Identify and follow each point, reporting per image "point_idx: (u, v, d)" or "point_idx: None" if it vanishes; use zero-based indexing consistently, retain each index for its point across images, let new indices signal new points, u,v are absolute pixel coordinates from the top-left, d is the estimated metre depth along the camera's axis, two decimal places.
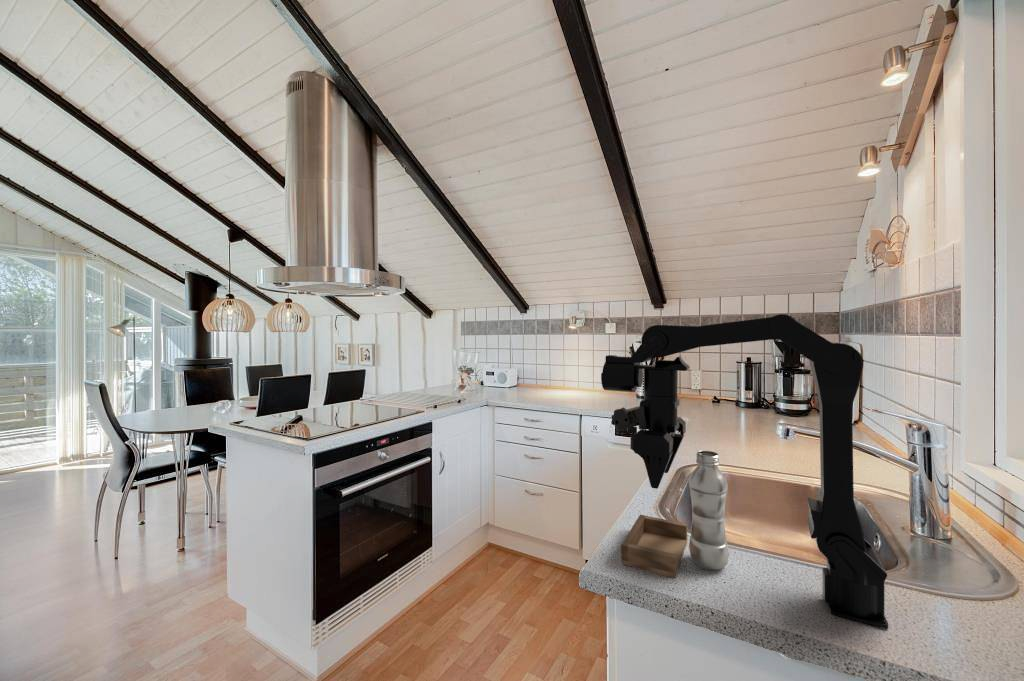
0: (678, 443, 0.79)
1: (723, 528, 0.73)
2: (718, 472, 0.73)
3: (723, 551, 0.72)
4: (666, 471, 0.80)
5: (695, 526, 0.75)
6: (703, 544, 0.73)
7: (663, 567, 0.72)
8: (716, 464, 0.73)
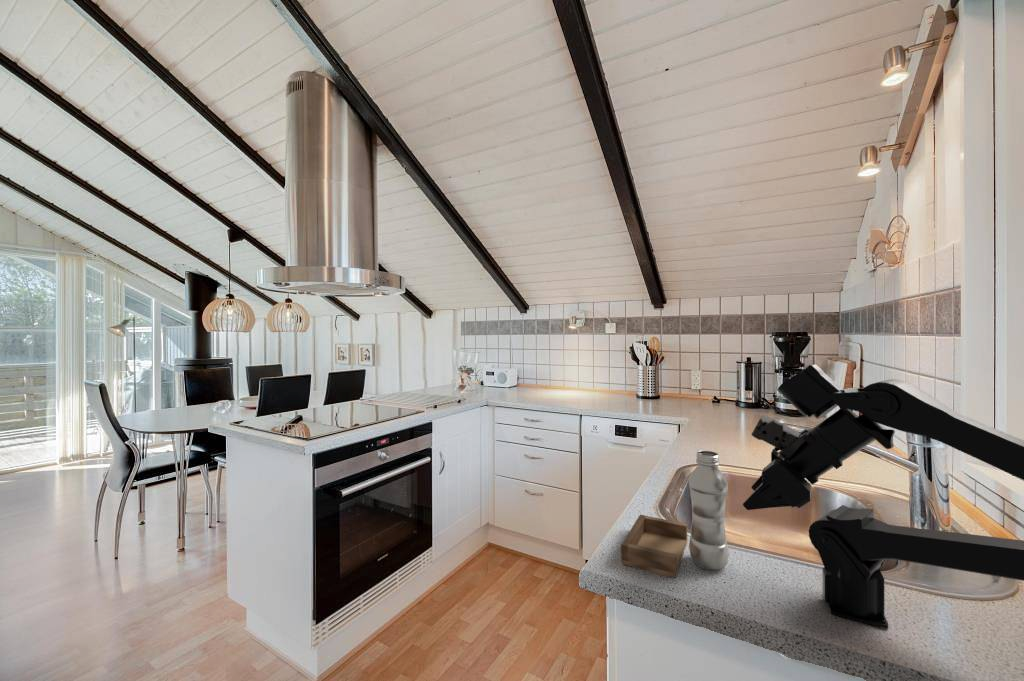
0: None
1: (723, 528, 0.73)
2: (718, 472, 0.73)
3: (723, 551, 0.72)
4: None
5: (695, 526, 0.75)
6: (703, 543, 0.73)
7: (663, 567, 0.72)
8: (716, 464, 0.73)
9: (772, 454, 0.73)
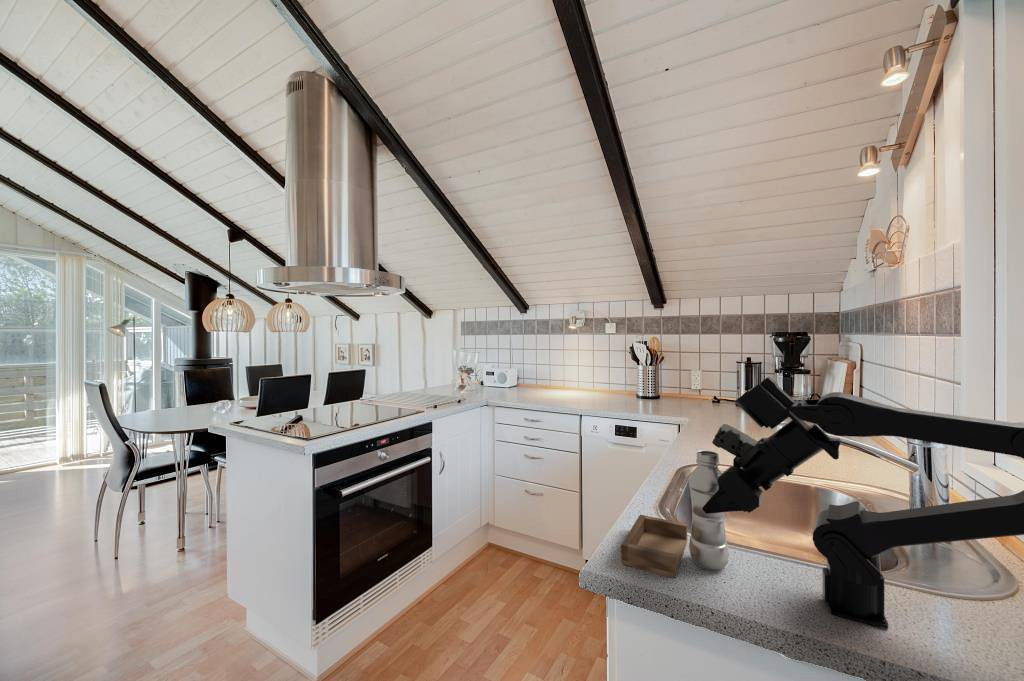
0: None
1: (723, 528, 0.73)
2: (718, 472, 0.73)
3: (723, 551, 0.72)
4: None
5: (695, 526, 0.75)
6: (703, 544, 0.73)
7: (663, 567, 0.72)
8: (716, 464, 0.73)
9: (734, 461, 0.77)
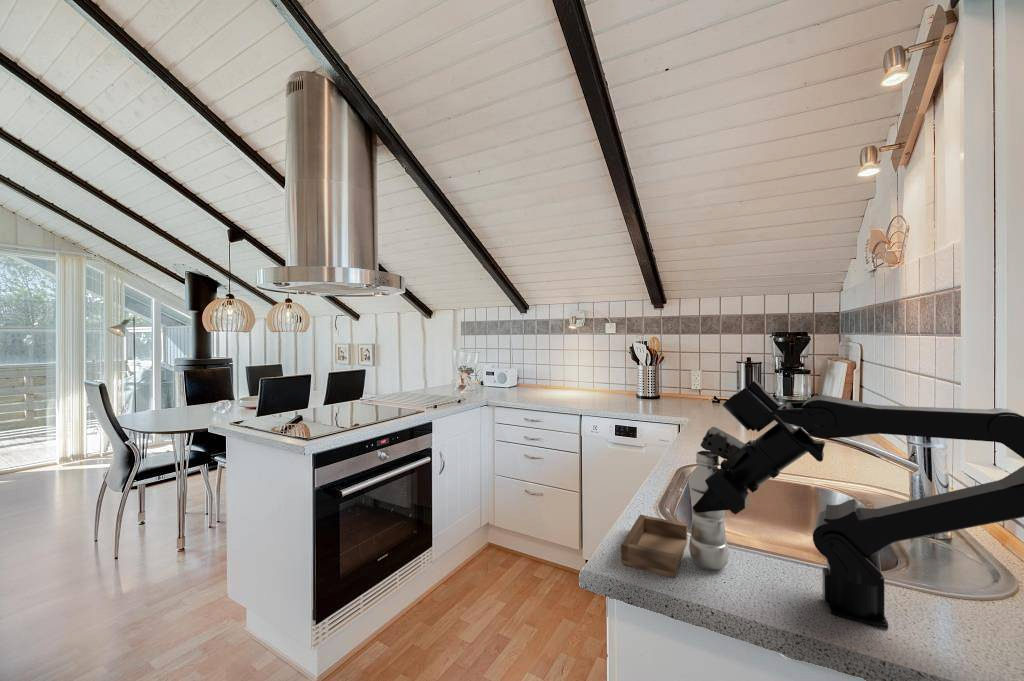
0: None
1: (723, 528, 0.73)
2: None
3: (723, 551, 0.72)
4: None
5: (695, 526, 0.75)
6: (703, 544, 0.73)
7: (663, 567, 0.72)
8: (716, 464, 0.73)
9: (721, 465, 0.77)
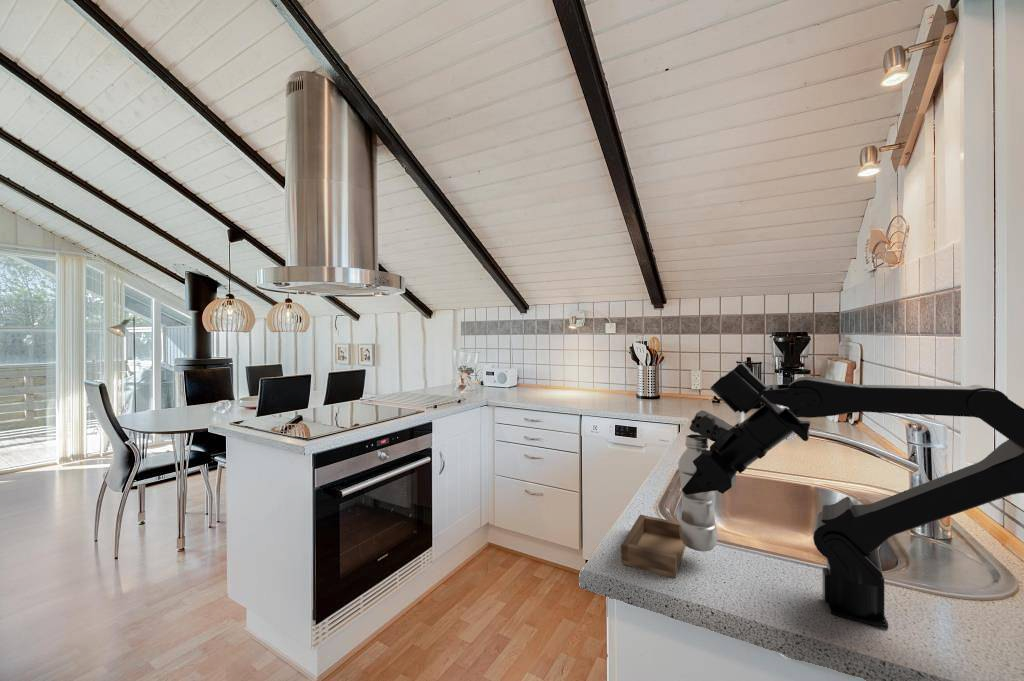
0: None
1: (712, 510, 0.74)
2: None
3: (712, 532, 0.73)
4: None
5: (684, 509, 0.75)
6: (692, 525, 0.74)
7: (663, 567, 0.72)
8: (705, 447, 0.74)
9: (710, 448, 0.78)
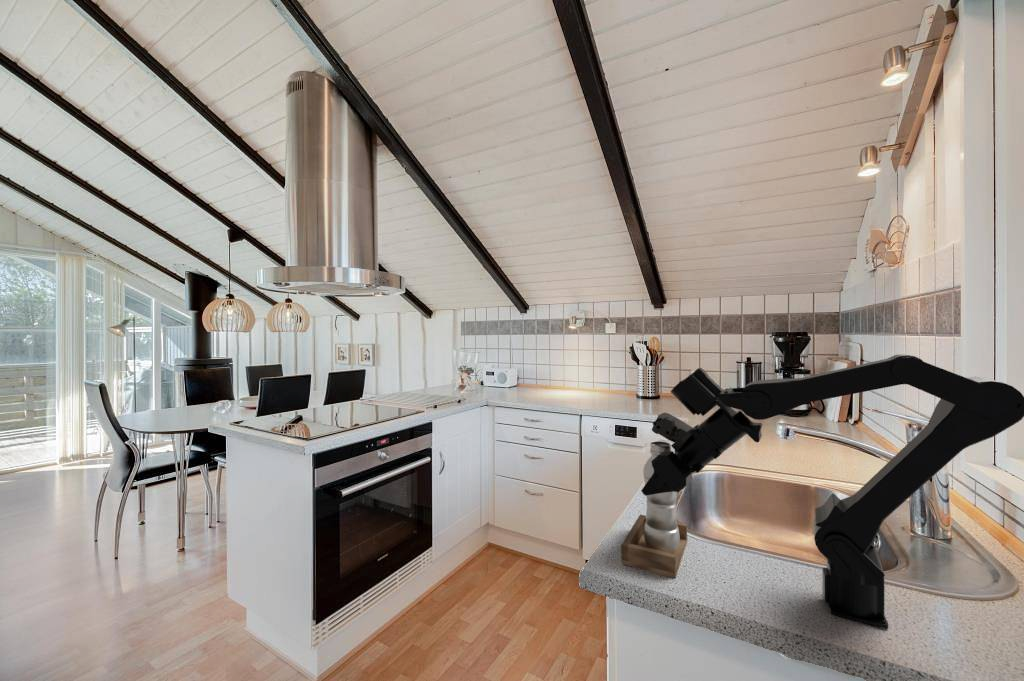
0: (691, 471, 0.80)
1: (674, 514, 0.77)
2: None
3: (674, 536, 0.76)
4: None
5: (648, 513, 0.79)
6: (655, 529, 0.77)
7: (663, 567, 0.72)
8: None
9: None
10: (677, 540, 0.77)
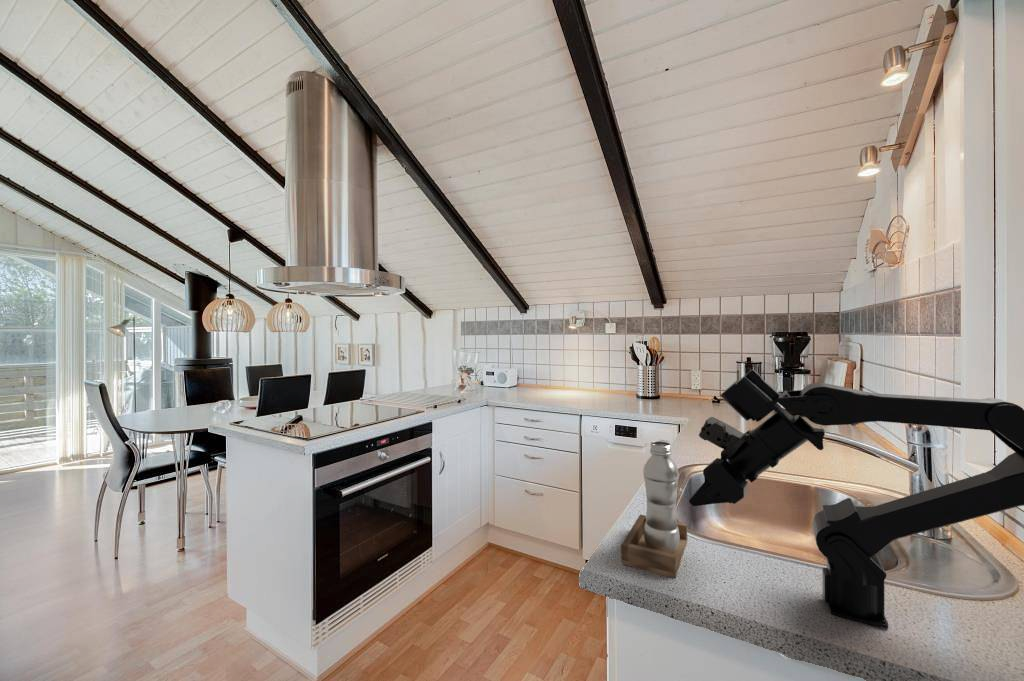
0: None
1: (674, 514, 0.77)
2: (669, 461, 0.77)
3: (674, 536, 0.76)
4: None
5: (648, 513, 0.79)
6: (655, 529, 0.77)
7: (663, 567, 0.72)
8: (667, 453, 0.77)
9: (721, 454, 0.77)
10: (677, 540, 0.77)
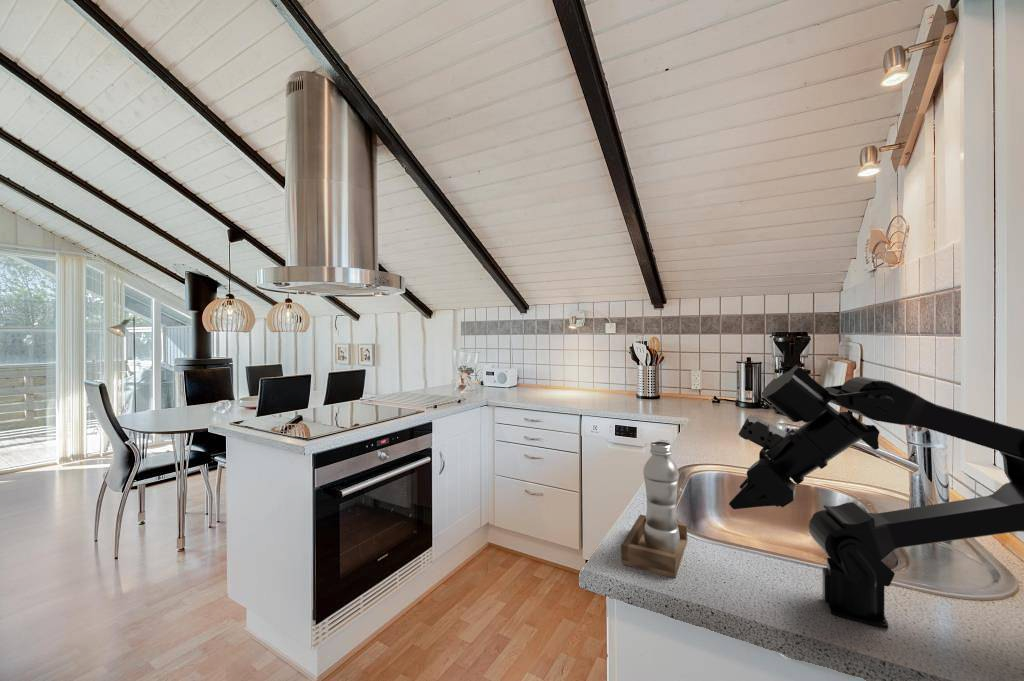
0: None
1: (674, 514, 0.77)
2: (670, 461, 0.77)
3: (674, 536, 0.76)
4: None
5: (648, 513, 0.79)
6: (655, 529, 0.77)
7: (663, 567, 0.72)
8: (668, 453, 0.77)
9: (760, 454, 0.73)
10: (677, 540, 0.76)
